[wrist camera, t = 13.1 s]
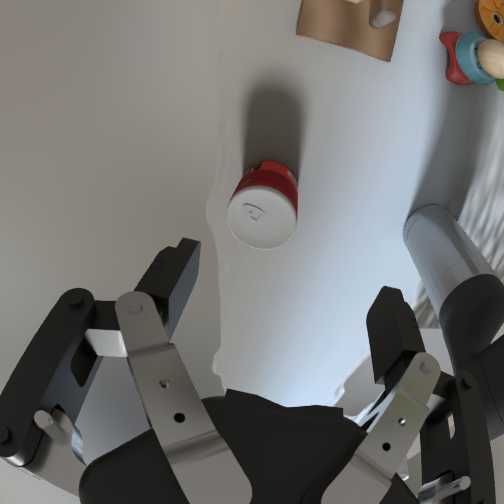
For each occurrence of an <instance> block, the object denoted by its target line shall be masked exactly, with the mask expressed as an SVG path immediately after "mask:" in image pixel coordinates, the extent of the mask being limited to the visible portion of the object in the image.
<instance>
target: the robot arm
mask: <svg viewBox="0 0 504 504" xmlns="http://www.w3.org/2000/svg"><path fill="white" fill-rule="evenodd" d="M403 238H404V242H405V245H406V247H407V249H408V251H409V253H410V255H411V257H412V260H413V262H414V264H415V266H416V268H417V270H418V272H419V275H420V277H421V279H422V281H423V284H424V286H425V288H426V291H427V293H428V295H429V298H430V300H431V303H432V305H433V307H434V310H435V312H436V315H437V317H438V320H439V323H440V325H441V328H442V331H443V336H444V340H445V343H446V346H447V349H448V352H449V356H450V360H451V363H452V367H453V372H454V376H451V375H449V374H447V373H444V372H442V371H441V370H440V366H439V363H438V362H437V360H436V359H435V358H434V357H433V356H432V355H430V354H428V353H426V351H425V347H424V344H423V341H422V337H421V333H420V330H419V329H418V328H419V327H418V324H417V322H416V318H415V315H414V312H413V310H412V309H411V307H410V306H409V304H408V303H407V302H405V301H404V298H403V295H402V292H401V290H400V289H396V288H392V287H388V286H384V287H382V289H381V290H380V292H379V294H378V296H377V297H376V299H375V301H374V302H373V304H372V306H371V308H370V309H369V311H368V314H367V318H366V325H367V331H368V337H369V344H370V350H371V357H372V365H373V372H374V380H375V384H384V385H385V389H384V390H383V391H382V392H381V394H380V395H379V397H378V398H377V399H376V401H375V402H374V403H373V405H372V406H371V408H370V409H369V410H368V412H367V413H366V414H365V416H364V417H363V418H362V419H361V421H360V422H359V423H358V424H357V423H355V422H354V421H352V420H350V419H348V418H346V417H343V408H338V407H329V406H321V405H311V406H300V407H284V406H282V405H279V404H277V403H274V402H272V401H270V400H267V399H265V398H263V397H260V396H258V395H255V394H250V393H245V392H241V391H236V390H232V389H227V391H226V394H225V396H214V397H208V398H204V399H200V397H199V395H198V393H197V391H196V389H195V387H194V385H193V383H192V381H191V379H190V376H189V374H188V372H187V370H186V368H185V365H184V363H183V361H182V359H181V357H180V355H179V352H178V350H177V348H176V346H175V345H174V344H173V343H172V344H171V343H170V342H169V341H170V340H171V337H172V335H173V333H174V330H175V328H176V326H177V323H178V321H179V319H180V316H181V314H182V312H183V309H184V307H185V305H186V302H187V300H188V298H189V296H190V294H191V292H192V289H193V287H194V285H195V282H196V279H197V275H198V268H199V258H200V248H201V242H200V241H196V240H192V239H188V238H182V240H181V241H180V243H179V244H178V246H177V247H176V248H174V247H170V246H168V247H166V248H165V249H163V250H162V251H160V252H159V253H158V255H157V256H156V258H155V259H154V261H153V262H152V264H151V265H150V267H149V268H148V270H147V271H146V272H145V274H144V275H143V277H142V279H141V280H140V282H139V283H138V285H137V286H136V288H135V289H134V291H132V292H128V293H125V294H123V295H122V296H120V297H119V298H118V299H117V301H99V300H94V297H93V295H92V293H91V292H89V291H88V290H86V289H83V288H74V289H71V290H68V291H66V292H65V293H64V294H63V295H62V296H61V297H60V298H59V300H58V301H57V303H56V304H55V306H54V307H53V309H52V310H51V311H50V313H49V314H48V316H47V317H46V319H45V320H44V322H43V323H42V325H41V326H40V328H39V330H38V331H37V333H36V334H35V336H34V337H33V339H32V341H31V342H30V344H29V345H28V347H27V349H26V351H25V352H24V354H23V355H22V357H21V359H20V361H19V362H18V364H17V366H16V368H15V369H14V371H13V373H12V374H11V376H10V378H9V380H8V382H7V384H6V386H5V388H4V389H3V391H2V393H1V395H0V457H1V458H3V459H4V460H5V461H7V462H8V463H9V464H11V465H12V466H14V467H16V468H18V469H19V470H21V471H23V472H25V473H26V474H29V475H32V476H34V477H36V478H38V479H41V480H46V481H48V482H50V483H52V484H54V485H56V486H58V487H60V488H61V489H64V490H66V491H68V492H70V493H72V494H74V495H76V496H78V497H79V498H80V502H81V504H496V497H495V481H494V470H493V461H492V454H491V446H490V441H491V440H493V439H495V438H497V437H499V436H501V435H502V434H504V334H503V335H502V336H501V337H499V338H498V339H497V340H496V341H494V342H493V343H492V344H490V343H491V342H492V340H493V338H494V337H495V335H496V334H497V332H498V331H499V329H500V327H501V326H502V324H503V323H504V285H503V284H502V282H501V281H500V279H499V278H498V276H497V275H496V273H495V272H494V270H493V269H492V267H491V266H490V265H489V263H488V262H487V260H486V259H485V258H484V256H483V255H482V253H481V252H480V251H479V249H478V248H477V247H476V245H475V244H474V243H473V241H472V240H471V239H470V238H469V236H468V235H467V234H466V232H465V231H464V230H463V229H462V227H461V226H460V225H459V224H458V222H457V221H456V220H455V219H454V218H453V216H452V215H451V214H450V213H449V212H448V210H446V209H445V208H444V207H442V206H439V205H427V206H423V207H421V208H419V209H418V210H416V211H415V212H414V213H413V214H412V215H411V216H410V217H409V219H408V220H407V222H406V224H405V227H404V232H403ZM104 356H117V357H126V359H127V362H128V365H129V369H130V372H131V375H132V378H133V381H134V384H135V387H136V391H137V393H138V396H139V400H140V402H141V405H142V408H143V411H144V414H145V417H146V419H147V422H148V425H149V427H150V429H149V430H147V431H145V432H144V433H142V434H140V435H138V436H137V437H135V438H133V439H131V440H130V441H128V442H126V443H124V444H123V445H121V446H119V447H117V448H115V449H114V450H112V451H110V452H108V453H106V454H104V455H102V456H101V457H99V458H97V459H95V460H94V461H92V462H91V463H90V464H89V465H88V466H87V465H86V464H85V462H84V460H83V457H82V447H83V438H82V435H81V433H80V431H79V430H78V429H77V427H76V426H75V425H74V424H75V422H76V419H77V417H78V414H79V412H80V410H81V407H82V404H83V402H84V400H85V398H86V395H87V393H88V391H89V388H90V386H91V384H92V381H93V379H94V377H95V375H96V372H97V370H98V368H99V366H100V364H101V362H102V359H103V357H104ZM452 414H453V419H454V425H455V433H454V436H453V437H452V438H451V439H450V432H449V424H448V417H450V416H451V415H452ZM419 431H420V444H421V464H422V487H421V489H420V490H419V493H418V496H416V497H415V495H414V494H413V493H412V492H411V490H410V489H409V488H408V486H407V485H406V484H405V483H404V481H403V480H402V479H401V477H400V476H399V475H398V473H397V472H396V471H397V469H398V468H399V466H400V464H401V463H402V461H403V460H404V458H405V456H406V454H407V453H408V451H409V449H410V448H411V446H412V444H413V442H414V440H415V439H416V437H417V435H418V433H419Z"/></svg>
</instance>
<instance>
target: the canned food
mask: <svg viewBox="0 0 504 504" xmlns="http://www.w3.org/2000/svg"><path fill="white" fill-rule="evenodd" d="M297 208H298V185H297V181H296V179H295V177H294V175H293V173H292V172H291V171H290V170H289V169H288V168H287V167H285V166H284V165H282V164H280V163H278V162H274V161H261V162H257V163H255V164H253V165H252V166H250V167H249V168H248V169H247V170H246V172H245V173H244V175H243V177H242V179H241V180H240V182H239V184H238V186H237V188H236V190H235V192H234V193H233V195H232V197H231V199H230V201H229V204H228V207H227V211H226V219H227V224H228V227H229V229H230V231H231V232H232V234H233V235H234V236H235V237H236V238H237V239H238V240H239V241H240V242H242V243H243V244H245V245H247V246H249V247H252V248H255V249H260V250H270V249H275V248H278V247H280V246H282V245H284V244H285V243H287V242H288V241H289V240H290V239H291V237H292V236H293V234H294V232H295V229H296V225H297Z"/></svg>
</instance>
